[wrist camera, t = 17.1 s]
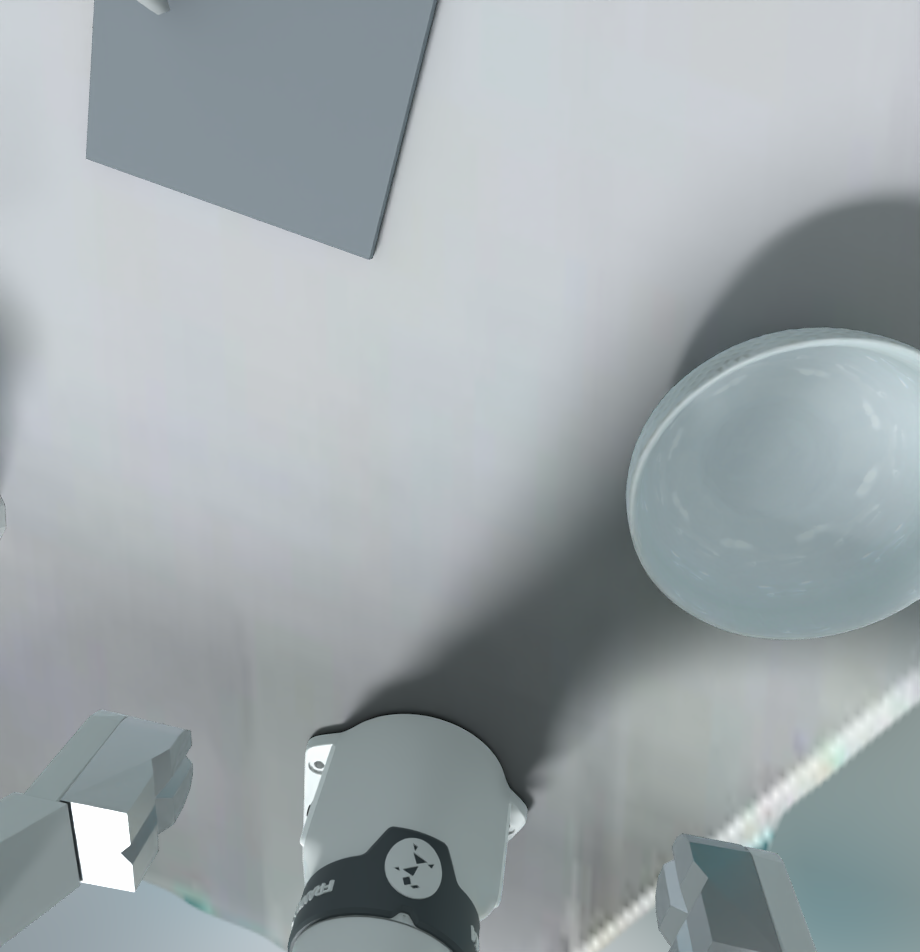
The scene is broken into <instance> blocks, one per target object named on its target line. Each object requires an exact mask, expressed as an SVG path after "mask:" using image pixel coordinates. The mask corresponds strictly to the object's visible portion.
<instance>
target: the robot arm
mask: <svg viewBox="0 0 920 952" xmlns="http://www.w3.org/2000/svg"><path fill="white" fill-rule="evenodd" d="M191 746H192V739H191V731H190V730H186V729H182V728H178V727H174V726H170V725H165V724H161V723H157V722H153V721H149V720H145V719H141V718H137V717H132V716H128V715H124V714H119V713H115V712H110V711H106V710H101V709H100V710H99V711H97V712H96V713H94V714H93V715H91V716H90V717H89V718H88V719H87V720H86V721H85V722H84V724H83V725H82V726H81V727H80V728H79V729H78V731H77V732H76V733H75V734H74V735H73V737H72V738H71V739H70V740H69V741H68V742H67V744H66V745H65V746H64V747H63V748H62V749H61V751H60V752H59V753H58V754H57V755H56V756H55V758H54V759H53V760H52V761H51V762H50V764H49V765H48V766H47V767H46V768H45V769H44V771H43V772H42V773H41V774H40V775H39V776H38V778H37V779H36V780H35V781H34V782H33V784H32V785H31V786H30V787H29V788H28V789H27V791H26V792H25V793H24V794H23V793H18V792H14V793H12V794H10V795H8V796H6V797H4V798H2V799H0V947H2V946H3V945H4V944H5V943H7V942H8V941H9V940H11V939H12V938H13V937H14V936H16V935H17V934H18V933H20V932H21V931H22V930H23V929H25V928H26V927H27V926H29V925H30V924H31V923H33V922H34V921H35V920H37V919H38V918H39V917H40V916H42V915H43V914H44V913H46V912H47V911H48V910H50V909H51V908H52V907H53V906H55V905H56V904H57V903H58V902H60V901H61V900H62V899H64V898H65V897H66V896H68V895H69V894H70V893H72V892H73V891H74V890H75V889H77V888H78V887H79V886H80V882H84V883H89V884H94V885H99V886H105V887H110V888H116V889H121V890H126V891H132V892H135V891H136V889H137V887H138V886H139V884H140V882H141V881H142V879H143V877H144V875H145V874H146V872H147V870H148V869H149V867H150V865H151V863H152V862H153V860H154V858H155V856H156V855H157V853H158V851H159V845H158V834H160V833H161V832H163V831H164V830H166V829H167V828H169V827H170V826H172V825H173V824H174V823H175V821H176V819H177V818H178V816H179V814H180V812H181V810H182V809H183V806H184V804H185V801H186V798H187V796H188V793H189V790H190V787H191V782H192V776H193V764H192V762H191V761H190V760H189V759H188V758H187V756H186V754H187V752H188V751H189V749H190V747H191ZM527 812H528V810H527V807H526V805H525V804H524V802H523V801H522V800H521V799H520V798H519V797H518V796H517V795H516V794H515V793H514V792H513V791H512V790H511V789H510V787H509V786H508V784H507V781H506V778H505V775H504V772H503V769H502V767H501V765H500V763H499V761H498V760H497V758H496V757H495V755H494V754H493V753H492V751H491V750H490V749H489V748H488V747H487V746H486V745H485V744H484V743H483V742H482V741H481V740H479V739H478V738H477V737H475V736H474V735H473V734H471V733H469V732H468V731H466V730H464V729H463V728H461V727H459V726H456V725H454V724H452V723H449V722H447V721H444V720H441V719H437V718H433V717H429V716H423V715H415V714H393V715H385V716H380V717H376V718H373V719H370V720H367V721H365V722H362V723H360V724H359V725H357V726H355V727H353V728H351V729H349V730H347V731H344V732H342V733H333V734H325V735H319V736H315V737H313V738H311V739H310V740H309V741H308V744H307V748H306V751H305V776H304V820H303V831H302V835H301V839H300V844H301V845H302V846H303V870H304V881H305V889H304V892H303V895H302V898H301V901H300V902H299V904H298V907H297V908H296V912H295V915H294V918H293V922H292V927H291V929H292V930H291V934H290V938H289V942H288V952H479V929H480V921H481V920H483V919H485V918H486V917H487V916H489V914H490V913H491V912H492V910H493V909H494V908H496V907H498V906H499V904H500V901H501V897H502V890H503V881H504V872H505V862H506V853H507V843H508V842H509V841H510V840H511V839H512V838H513V837H514V836H515V835H516V833H517V832H518V831H519V830H520V829H521V828H522V827H523V826H524V825H525V823H526V819H527ZM672 850H673V855H674V860H672V861H670V862H668V863H666V864H664V865H663V867H662V869H661V872H660V874H659V877H658V880H657V888H656V896H655V898H656V915H657V921H658V928H659V931H660V932H661V934H662V935H663V936H664V938H665V939H666V941H667V942H668V944H669V945H670V946H671V948H670V950H669V952H817V951H816V948H815V945H814V943H813V940H812V937H811V935H810V932H809V929H808V926H807V924H806V921H805V919H804V916H803V913H802V910H801V908H800V905H799V902H798V900H797V897H796V894H795V891H794V889H793V886H792V883H791V881H790V878H789V875H788V873H787V870H786V867H785V865H784V862H783V860H782V859H781V858H780V856H779V855H778V854H777V853H773V852H769V851H764V850H760V849H755V848H750V847H743V846H742V845H739V844H734V843H729V842H724V841H719V840H714V839H709V838H704V837H699V836H693V835H688V834H683V833H682V834H681V835H679V836H678V837H677V838H676V840H675V842H674V844H673V846H672Z"/></svg>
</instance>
